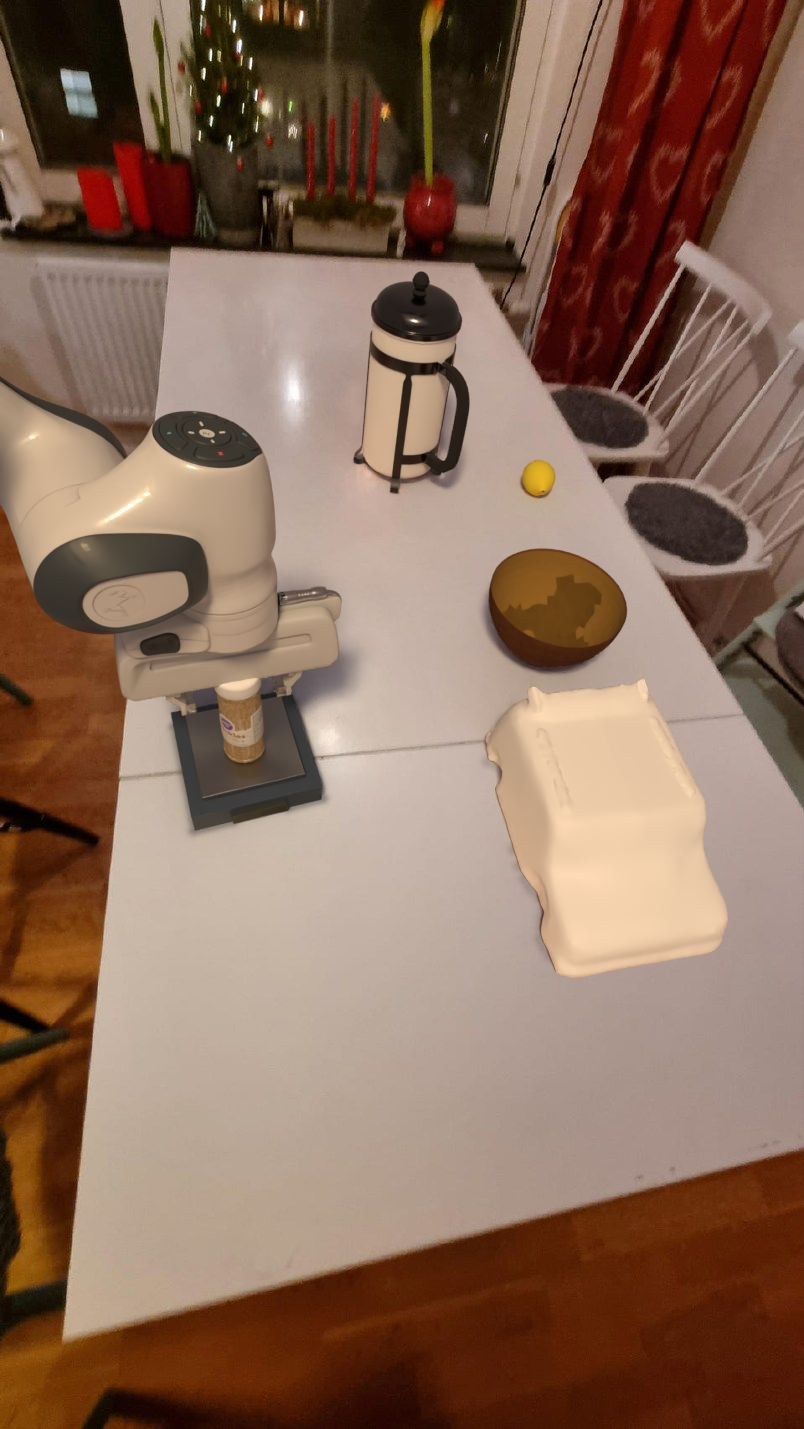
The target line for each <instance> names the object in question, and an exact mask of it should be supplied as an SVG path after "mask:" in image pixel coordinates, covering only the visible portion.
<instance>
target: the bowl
mask: <svg viewBox="0 0 804 1429" xmlns="http://www.w3.org/2000/svg"><path fill="white" fill-rule="evenodd" d="M627 605H628V604H627V601H626V598H625V595H624V592H623V591H622V589H621V587H620V586H619V584H618V583H617V581H615V579H614V578H613V577H612V576H611V575H610V574H609V573H608V572H607V571H606V570H605V569H603V567H600V566H599V565H598V564H596V563H594V562H593V561H591V560H589V559H588V558H586V557H583V556H581V555H578V554H576V553H572V552H569V551H565V550H563V549H562V550H561V549H555V548H530V549H525V550H521V551H520V550H519V552H515V553H513V554H510V555H509V556H507V557H505V558H504V559H503V560H502V561H501V562H500V563H499V564H498V565H497V566H496V568H495V569H494V572H493V574H492V576H491V579H490V583H489V589H488V610H489V614H490V619H491V622H492V624H493V627H494V629H495V631H496V634H497V635H498V638H499V639H500V640H501V642H502V643H503V644H504V646H505V647H506V648H507V649H508V650H509V651H510V652H511V653H512V654H513V655H515V656H516V657H517V658H519V659H520V660H522V661H524V662H526V663H528V664H531V665H533V666H537V667H541V668H547V669H548V668H549V669H550V668H555V669H556V668H565V667H570V666H574V665H578V664H581V663H584V662H586V661H588V660H590V659H593V658H594V657H596V656H598V655H599V654H601V652H603V651H604V650H605V649H607V648H608V647H609V646H610V645H611V644H612V643H613V642H614V641H615V639H616V638H617V637H618V636H619V634H620V632H621V631H622V629H623V627H624V625H625V623H626V621H627V617H628V606H627Z"/></svg>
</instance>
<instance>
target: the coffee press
mask: <svg viewBox="0 0 804 1429" xmlns="http://www.w3.org/2000/svg"><path fill="white" fill-rule="evenodd" d="M429 277H430V276H429V275H428V273H427V272H425V271H422V270H421V271H417V272H416V273H415V274H414V276H413V278H412V281H411V280H409V281H408V280H407V281H399V282H395V283H392V284H389V285H388V286H386V287H384V288H383V289H382V290H381V291H380V292H379V293H378V294H377V297H376V299H374V301H373V302H372V303H371V306H370V316H371V319H372V329H371V331H370V335H369V348H368V359H367V371H366V384H365V397H364V412H363V421H362V422H363V424H362V433H361V434H362V437H361V445H360V447H359V448H358V449H357V450H356V451H355V452H354V455H353V463H355V464H357V465H360V464H362V463H364V462H366V463H367V464H368V465H369V467H370V468H371V469H372V470H374V471H376V472H377V473H379V474H381V475H382V476H385V477H388V478H390V487H389V493H393V494H399V488H400V487H399V486H400V480H410V479H415V478H418V477H421V476H423V475H424V474H427V473H428V472H430V473H431V474H433V475H434V476H436V477H438V476H439V477H440V476H441V475H442V474H444V473H445V474H446V473H448V472H451V471H453V469H455V468H456V466H457V465H458V463H459V460H460V457H461V453H462V449H463V446H464V445H463V444H464V440H465V435H466V431H467V426H468V420H469V414H470V407H471V406H470V403H471V402H470V401H471V399H470V391H469V387H468V384H467V381H466V379H465V377H464V376H463V374H462V373H461V372H460V371H459V369H458V368H457V367H456V366H454V364H455V357H456V351H457V337H458V333H459V332H460V331H461V330H462V325H463V316H462V314H461V313H460V308H459V306H458V303H457V301H456V300H455V298H454V297H453V296H452V295H451V294H450V293H448V292H447V291H446V290H444V289H442V288H441V287H439V286H436V285H433V284H431V281H430V278H429ZM450 385H451V386H452V388H453V390H454V394H455V401H456V405H455V412H454V418H453V422H452V423H453V424H452V428H451V433H450V439H449V443H448V450H447V454H446V457H445V459H444V460H443V459H441V458H440V457H438V454H439V447H440V442H441V436H442V431H443V427H444V426H443V425H444V420H445V414H446V409H447V403H448V397H449V393H450V392H449V391H450ZM361 452H362V454H363V456H362V457H361V458H357V456H358V455H359V454H360V453H361Z"/></svg>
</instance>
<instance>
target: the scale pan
mask: <svg viewBox="0 0 804 1429" xmlns="http://www.w3.org/2000/svg"><path fill="white" fill-rule="evenodd" d="M262 712H263V726H264V731H263V734H264V740H265V750H264V752H263V754H262V755H261V756H260V757H259V758H258V759H256V760H254V761H252V762H248V763H239V762H235V761H233V760H231V759H230V758H229V757H228V756H227V754H226V753H225V750H224V738H223V734H222V730H221V723H220V713H219V708H218V709H213V710H208V711H203V712H198V713H193V714H188V715H185V717H186V722H187V727H188V732H189V736H190V741H191V746H192V751H193V755H194V760H195V765H196V770H197V774H198V779H199V784H200V789H201V793H202V798H203V801H205V800H209V799H213V798H217V797H222V796H226V795H230V794H234V793H239V792H243V791H247V790H251V789H256V788H260V787H264V786H268V785H273V784H277V783H281V782H285V781H290V780H294V779H298V778H302V777H305V771H304V768H303V765H302V762H301V758H300V755H299V752H298V749H297V745H296V742H295V739H294V736H293V732H292V729H291V726H290V723H289V720H288V716H287V713H286V710H285V707H284V703H283V700H282V697H273V698H268V699H263V700H262Z"/></svg>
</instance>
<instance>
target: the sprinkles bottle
mask: <svg viewBox="0 0 804 1429" xmlns="http://www.w3.org/2000/svg"><path fill="white" fill-rule="evenodd" d="M261 686H262V678H261V679H258V678H253V679H246V680H241V681H236V682H230V683H226V684H222V685H219V686H217V687H213V689H214V691H215V693H216V698H217V699H216V700H217V703H218V705H219V713H220V723H221V730H222V734H223V738H224V750H225V753H226V754H227V756H228V757H229V758H230V759H231V760H233V761H235V762H239V763H248V762H252V761H254V760H256V759H258V758H259V757H260V756H261V755H262V754H263V752H264V750H265V740H264V734H263V731H264V726H263V712H262V700H261Z"/></svg>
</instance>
